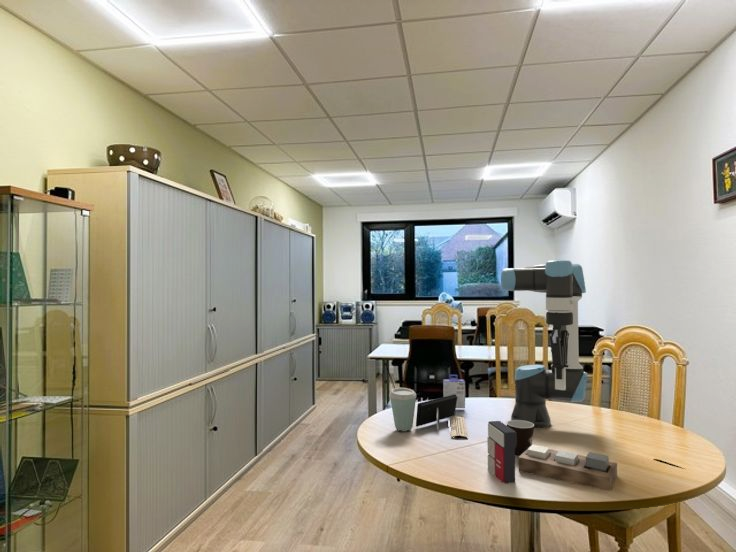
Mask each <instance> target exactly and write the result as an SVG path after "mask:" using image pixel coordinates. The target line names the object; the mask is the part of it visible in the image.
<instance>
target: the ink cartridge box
mask: <svg viewBox="0 0 736 552" xmlns="http://www.w3.org/2000/svg"><path fill="white" fill-rule="evenodd" d="M442 385H443V386H442V387H443V389H442V394H443V396H442V397H446V396H450V395H454V394H456V396H457V403H456V409H466V381H465V379H459V376H458V374H449V378H447V379H443V380H442Z"/></svg>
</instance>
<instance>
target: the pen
mask: <svg viewBox="0 0 736 552" xmlns="http://www.w3.org/2000/svg"><path fill="white" fill-rule="evenodd" d="M652 461H654V462H655V461H656V462H659V463H661V464H666V465H669V466H672V467H675V468H679V469H683V470H686V471H687V468H684V467H681V466H679V465H677V464H673V463H670V462H667V461H664V460H663V459H662V460H661V459H658V458H654V459H653V460H652Z"/></svg>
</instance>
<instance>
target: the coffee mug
mask: <svg viewBox="0 0 736 552" xmlns="http://www.w3.org/2000/svg"><path fill="white" fill-rule="evenodd" d="M506 425H507V426H508V427H509V428H511V429H512V430H514V431H515V432H516V433H517V446H516V448H515V457H519V456H520V455H521V454H522V453H523V452H525V451H526V450H527V449H528V448H529V447H530V446H531V445H533V439H534V431H535V430H534V429H535V428H534V424H533V423H531V422H528V421H523V420H511V419H510V420H508V421H506Z"/></svg>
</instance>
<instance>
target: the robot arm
mask: <svg viewBox="0 0 736 552" xmlns="http://www.w3.org/2000/svg"><path fill="white" fill-rule="evenodd" d="M584 276H585V275H584V271H583V267H582V265H581V264H579V263H572V262H571V260H565V259H564V260H548V261H546V263H544V264H535V265H530V266H526V267H522V268H520V267H518V268H517V267H516V268H513V267H510V268H504V269H502V271H501V273H500V284H501V285H500V286H501V289H502V290H503V291H510V292H520V291H521V292H522V291H523V292H525V291H527V292H533V293H543V294H545V310H546V311H547V312H546V313H545V323H546V324H547V325H551V326H552V330H551V334H550V335H549V341H550V348H551V349H550V350H551V358H552V359H551V361H552V364H551V365H550V369H546V365H544V364H543V365H542V364H527V365H521V366H519V367H517V368H515V372H514V374H515V375H514V383H515V384H514V385H515V386H514V389H515V390H514V391H515V397H514V398H515V401H514V402H515V404H514V406H513V410H512V411H511V416H510V420H523V421H528V422H531V423H533V424H534V429H546V428H549V427H550V426H551V425H552V422H551V421H552V419H551V416H550V414H549V410H548V408H547V405H546V404H547V403H546V400H550V401H563V402H570V403H573V402H574V403H575V402H576V403H580V402H583V401H584V399H585V395H586V388H587V381H588V372H586V371H584V367H583V366H582V365H581V364H580V359H579V356H580V355H579V301H580V300H582V298H583V294H586V292H587V289H586V284H585V283H586V282H585V277H584Z"/></svg>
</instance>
